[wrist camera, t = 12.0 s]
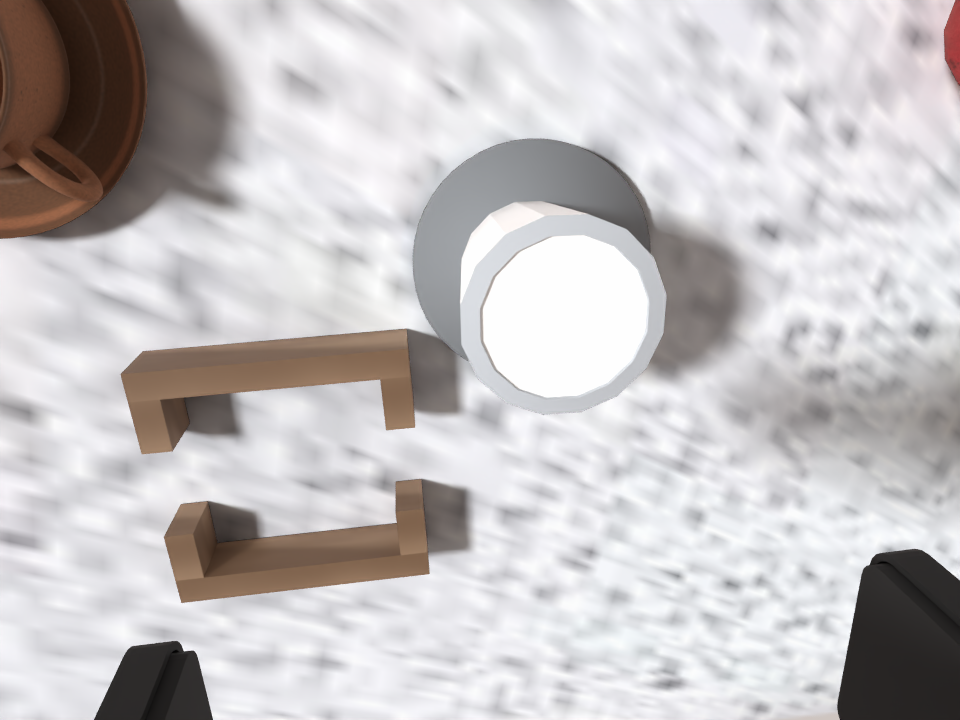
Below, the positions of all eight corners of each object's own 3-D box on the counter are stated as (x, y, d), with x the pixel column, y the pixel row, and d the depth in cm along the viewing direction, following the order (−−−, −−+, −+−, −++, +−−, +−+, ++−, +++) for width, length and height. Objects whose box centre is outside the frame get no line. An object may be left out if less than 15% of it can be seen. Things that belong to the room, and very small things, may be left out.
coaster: (641, 360, 32) (646, 365, 31) (423, 380, 31) (423, 386, 30) (650, 130, 28) (655, 131, 27) (401, 146, 27) (401, 147, 26)
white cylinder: (504, 150, 27) (537, 169, 20) (640, 241, 29) (710, 285, 22) (414, 296, 29) (418, 356, 22) (548, 373, 31) (588, 449, 24)
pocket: (427, 540, 34) (429, 574, 31) (196, 566, 33) (181, 602, 30) (406, 328, 30) (407, 348, 27) (142, 351, 29) (120, 374, 26)
